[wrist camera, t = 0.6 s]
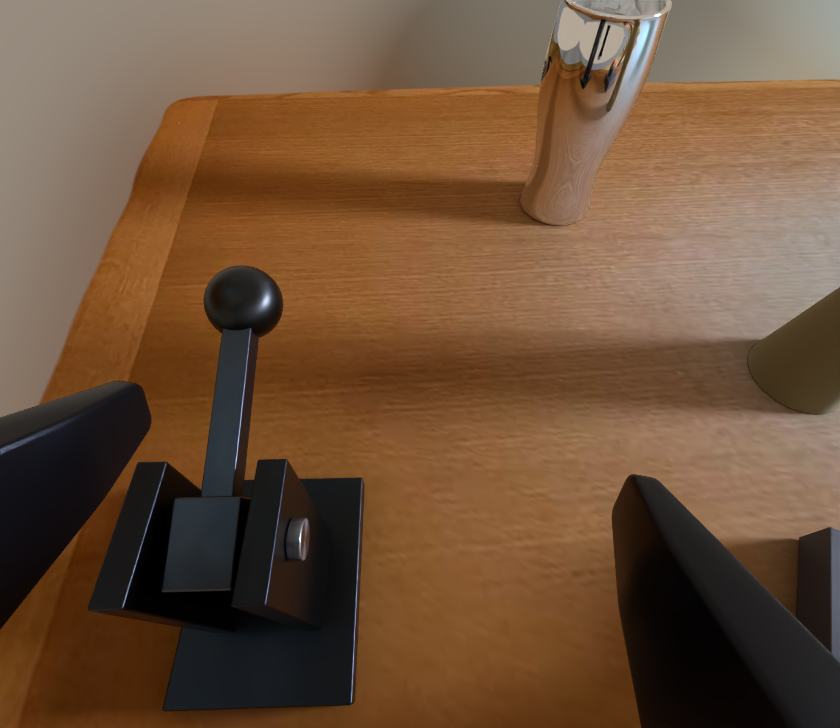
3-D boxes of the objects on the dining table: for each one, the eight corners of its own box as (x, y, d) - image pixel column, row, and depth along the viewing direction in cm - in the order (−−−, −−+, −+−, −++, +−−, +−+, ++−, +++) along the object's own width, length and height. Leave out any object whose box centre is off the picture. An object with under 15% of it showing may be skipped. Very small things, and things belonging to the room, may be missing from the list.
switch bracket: (223, 487, 26) (120, 389, 17) (364, 484, 26) (338, 386, 17) (173, 709, 20) (-22, 742, 11) (355, 703, 20) (307, 731, 11)
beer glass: (565, 173, 43) (628, -29, 30) (609, 218, 39) (701, 8, 27) (500, 190, 41) (538, -17, 29) (540, 238, 38) (603, 25, 25)
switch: (226, 288, 20) (195, 250, 17) (293, 288, 20) (274, 250, 17) (187, 581, 16) (139, 594, 13) (270, 579, 16) (241, 592, 14)
